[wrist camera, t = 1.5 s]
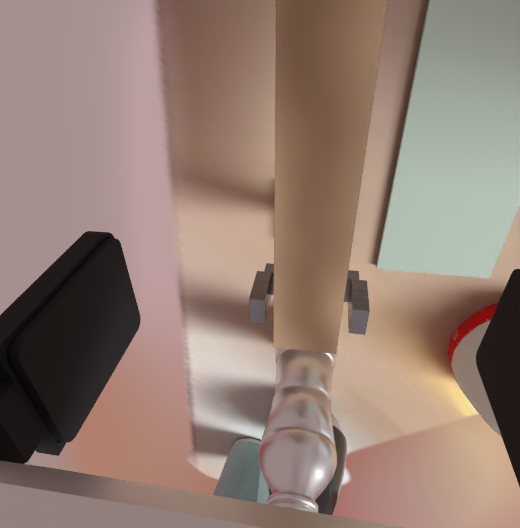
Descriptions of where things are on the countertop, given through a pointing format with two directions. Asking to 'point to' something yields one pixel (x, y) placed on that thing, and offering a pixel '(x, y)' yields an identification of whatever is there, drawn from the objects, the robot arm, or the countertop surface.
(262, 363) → the countertop surface
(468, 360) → the kitchen timer
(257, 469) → the disposable coffee cup
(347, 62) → the rail
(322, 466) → the plastic bottle
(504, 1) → the mat
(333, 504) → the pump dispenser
